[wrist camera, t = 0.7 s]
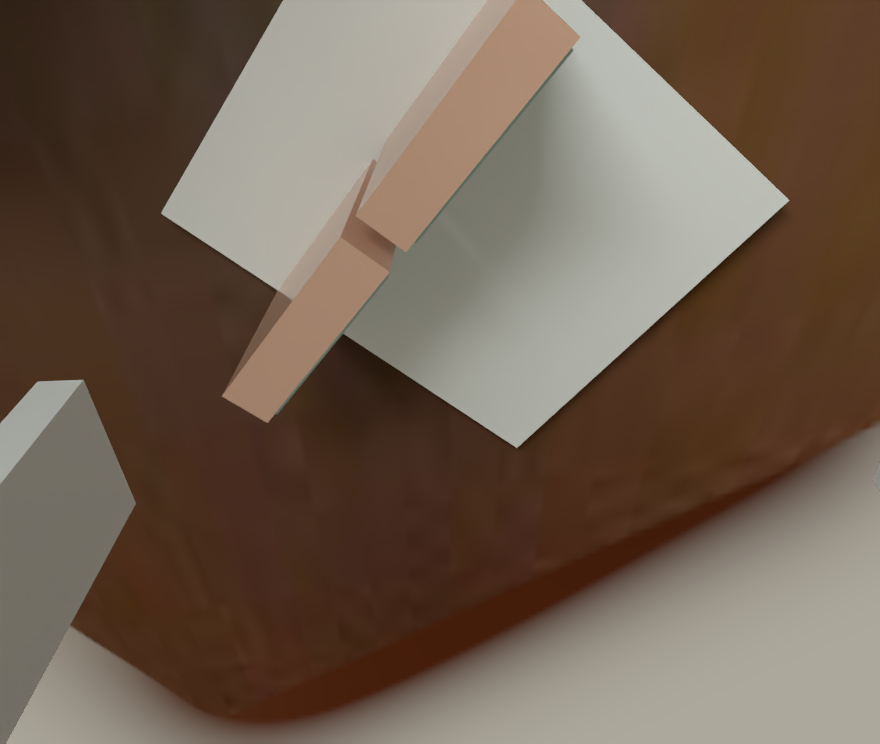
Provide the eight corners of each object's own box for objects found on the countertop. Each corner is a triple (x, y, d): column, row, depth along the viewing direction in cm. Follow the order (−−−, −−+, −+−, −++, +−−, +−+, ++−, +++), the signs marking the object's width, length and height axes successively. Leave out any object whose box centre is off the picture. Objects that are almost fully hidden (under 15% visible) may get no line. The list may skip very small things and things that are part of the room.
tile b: (384, 142, 33) (355, 216, 24) (509, -31, 29) (526, -14, 20) (424, 172, 33) (409, 254, 25) (551, 8, 29) (584, 40, 21)
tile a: (277, 290, 37) (221, 396, 29) (372, 158, 33) (340, 237, 25) (314, 314, 38) (270, 424, 30) (411, 188, 34) (393, 274, 26)
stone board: (169, 205, 36) (160, 213, 35) (392, -181, 27) (389, -185, 26) (515, 436, 43) (516, 447, 42) (780, 192, 35) (789, 200, 34)
